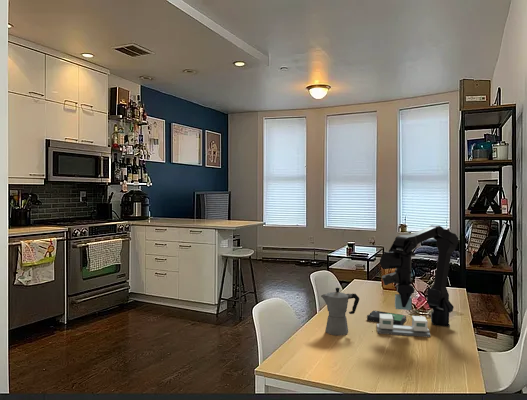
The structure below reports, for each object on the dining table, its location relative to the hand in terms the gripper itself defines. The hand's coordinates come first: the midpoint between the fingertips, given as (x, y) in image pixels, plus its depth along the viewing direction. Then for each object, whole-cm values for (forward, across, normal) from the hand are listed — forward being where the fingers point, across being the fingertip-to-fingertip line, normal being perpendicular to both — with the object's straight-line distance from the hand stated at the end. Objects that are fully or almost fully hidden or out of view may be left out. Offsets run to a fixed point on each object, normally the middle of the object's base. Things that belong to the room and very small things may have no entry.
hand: (403, 305), depth 179 cm
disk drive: (+11, -14, -5) cm, 19 cm away
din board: (+10, 0, 0) cm, 11 cm away
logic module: (+1, 0, 0) cm, 1 cm away
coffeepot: (+11, +7, -25) cm, 28 cm away
